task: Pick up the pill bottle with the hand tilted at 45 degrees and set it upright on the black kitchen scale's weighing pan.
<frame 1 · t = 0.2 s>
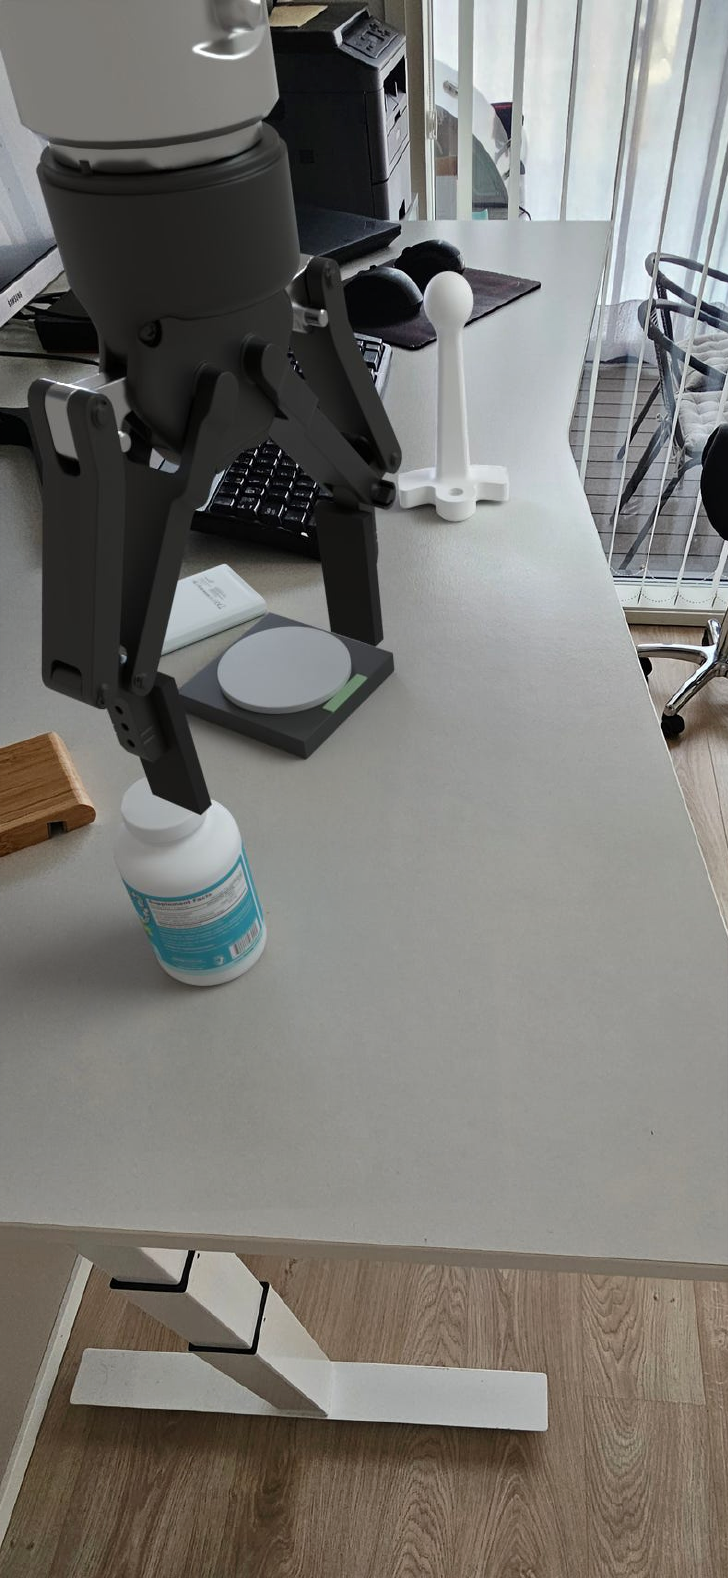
hand: (276, 712, 46), 22 cm above the table, tool pointing down, fingers open, 13 cm apart
scale: (288, 690, 83), on the table
pill bottle: (214, 948, 66), on the table
hard drive: (187, 620, 90), on the table
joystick: (454, 506, 101), on the table
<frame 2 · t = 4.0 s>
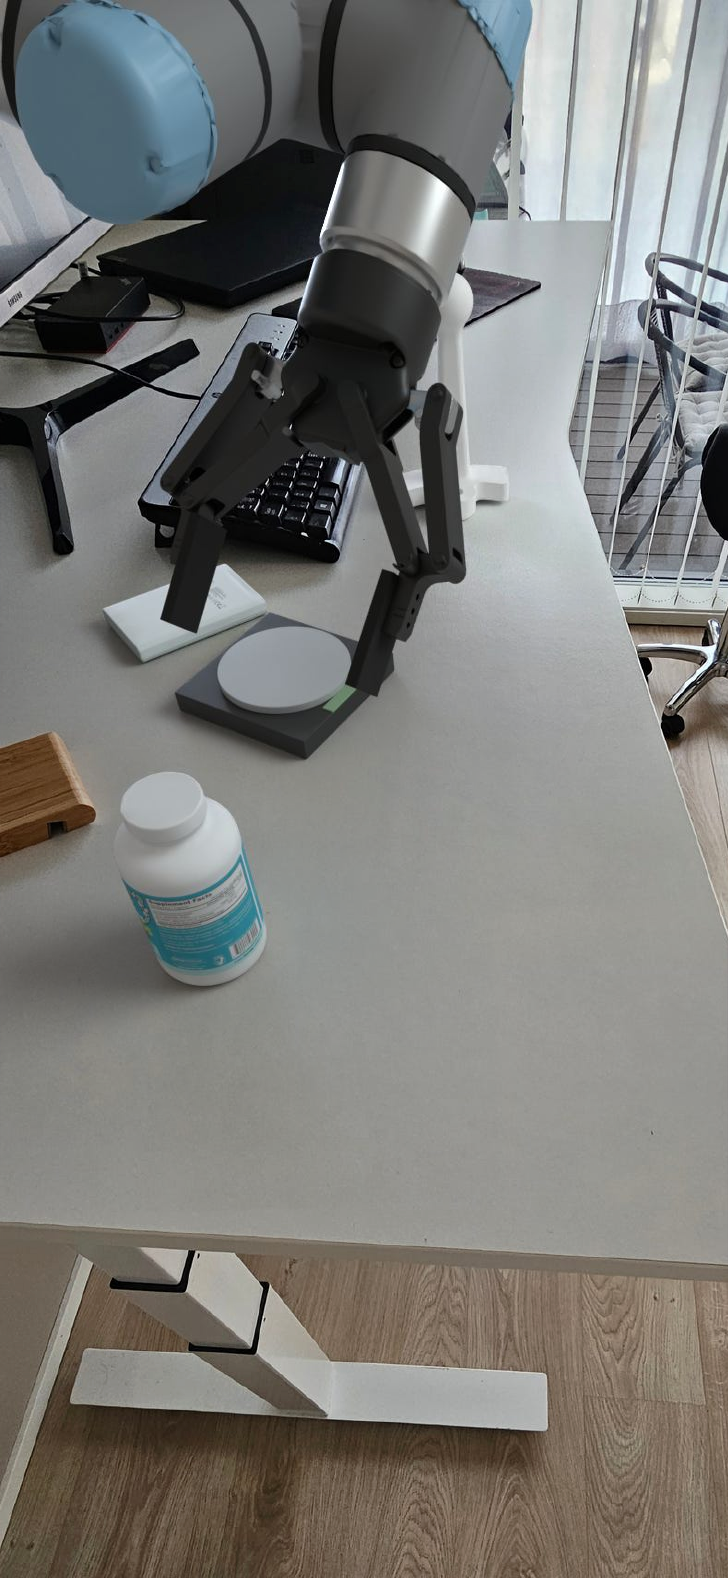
hand: (266, 658, 59), 16 cm above the table, tool tilted 45°, fingers open, 13 cm apart
nothing on the table moved.
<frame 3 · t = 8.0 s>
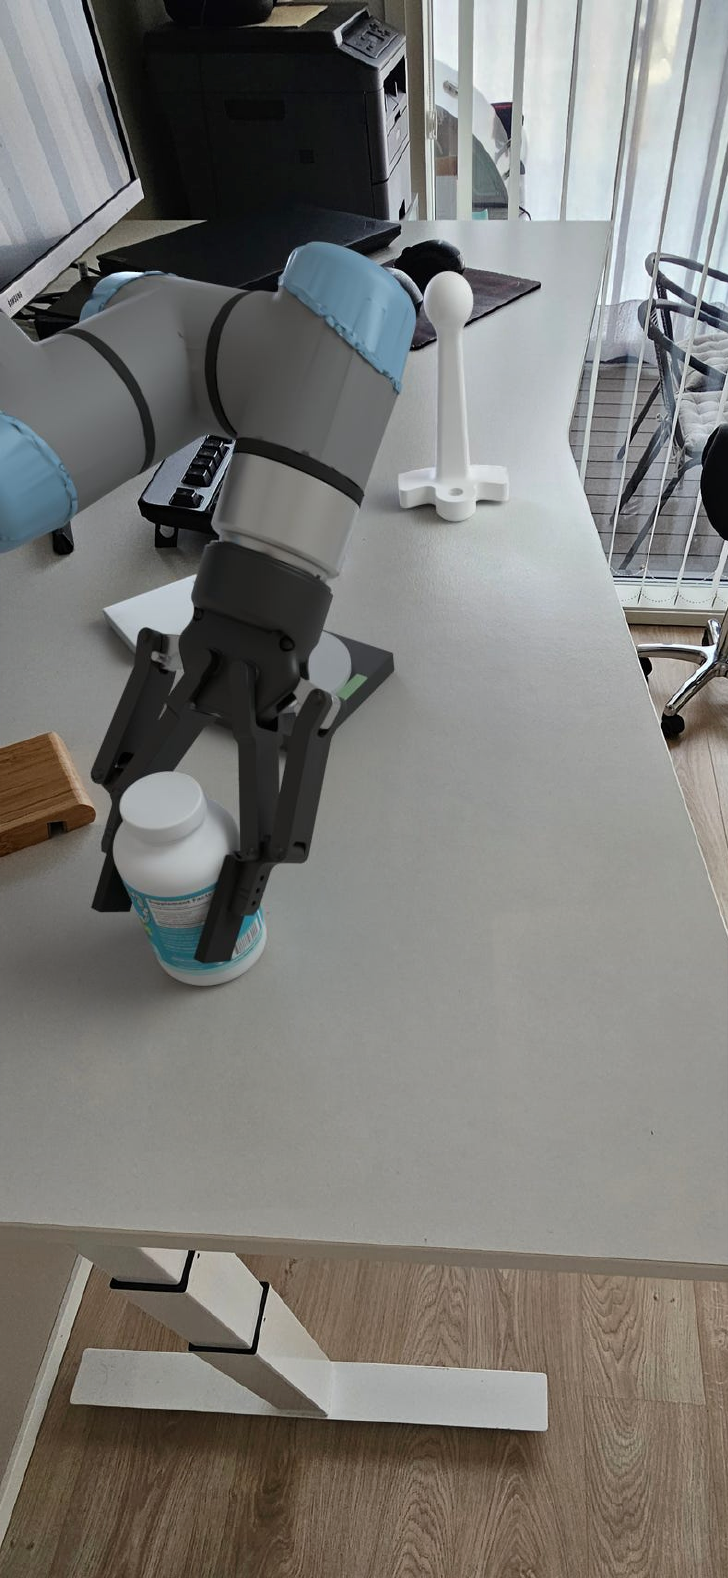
hand: (160, 934, 60), 5 cm above the table, tool tilted 45°, fingers closed on pill bottle, 7 cm apart
pill bottle: (214, 948, 66), on the table, touching gripper
everything else where it was.
when the fingers open (8 cm above the table, at t = 17.6 s): pill bottle stays where it is, resting on scale.
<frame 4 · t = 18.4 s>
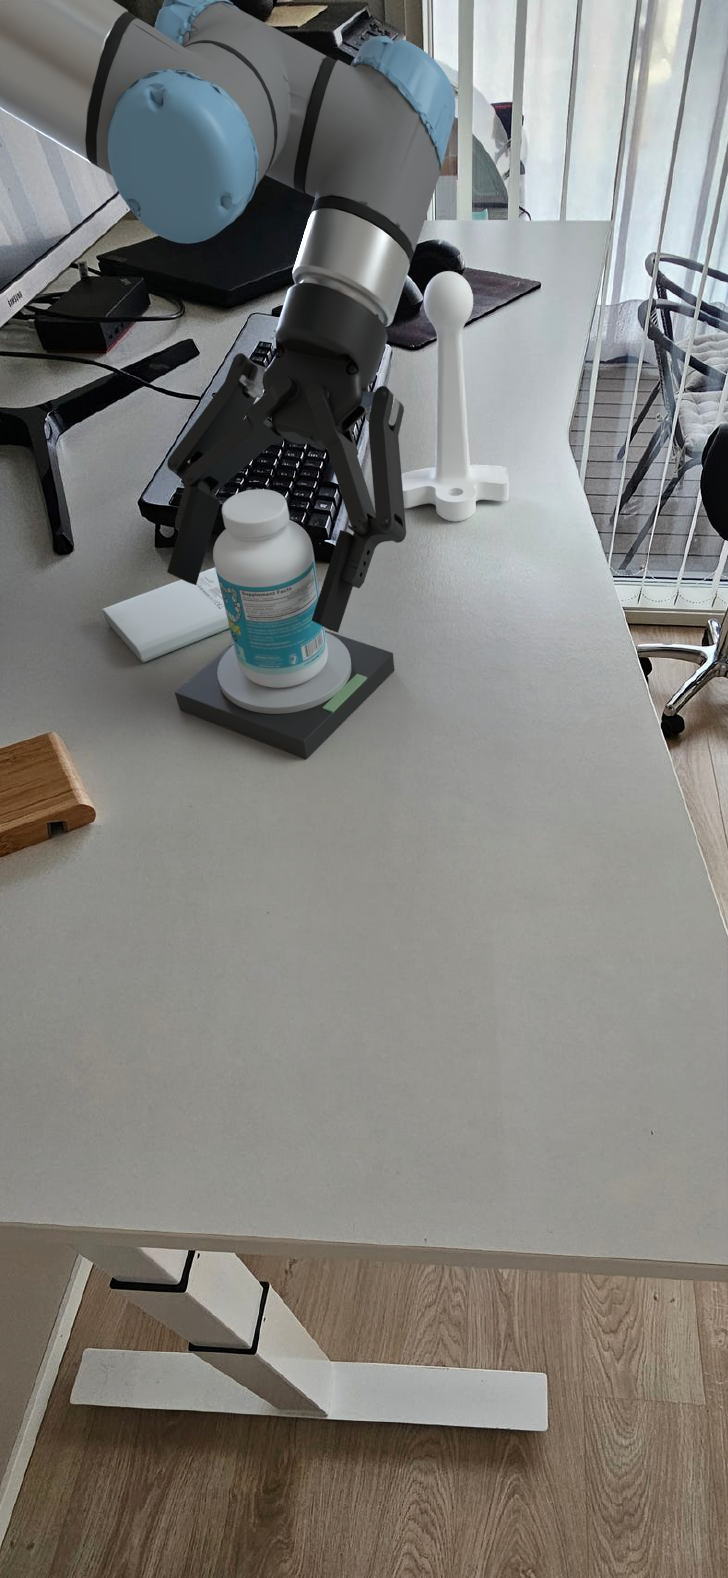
hand: (250, 602, 74), 9 cm above the table, tool tilted 45°, fingers open, 13 cm apart
pill bottle: (284, 666, 81), point 2 cm above the table, touching scale
everything else where it was.
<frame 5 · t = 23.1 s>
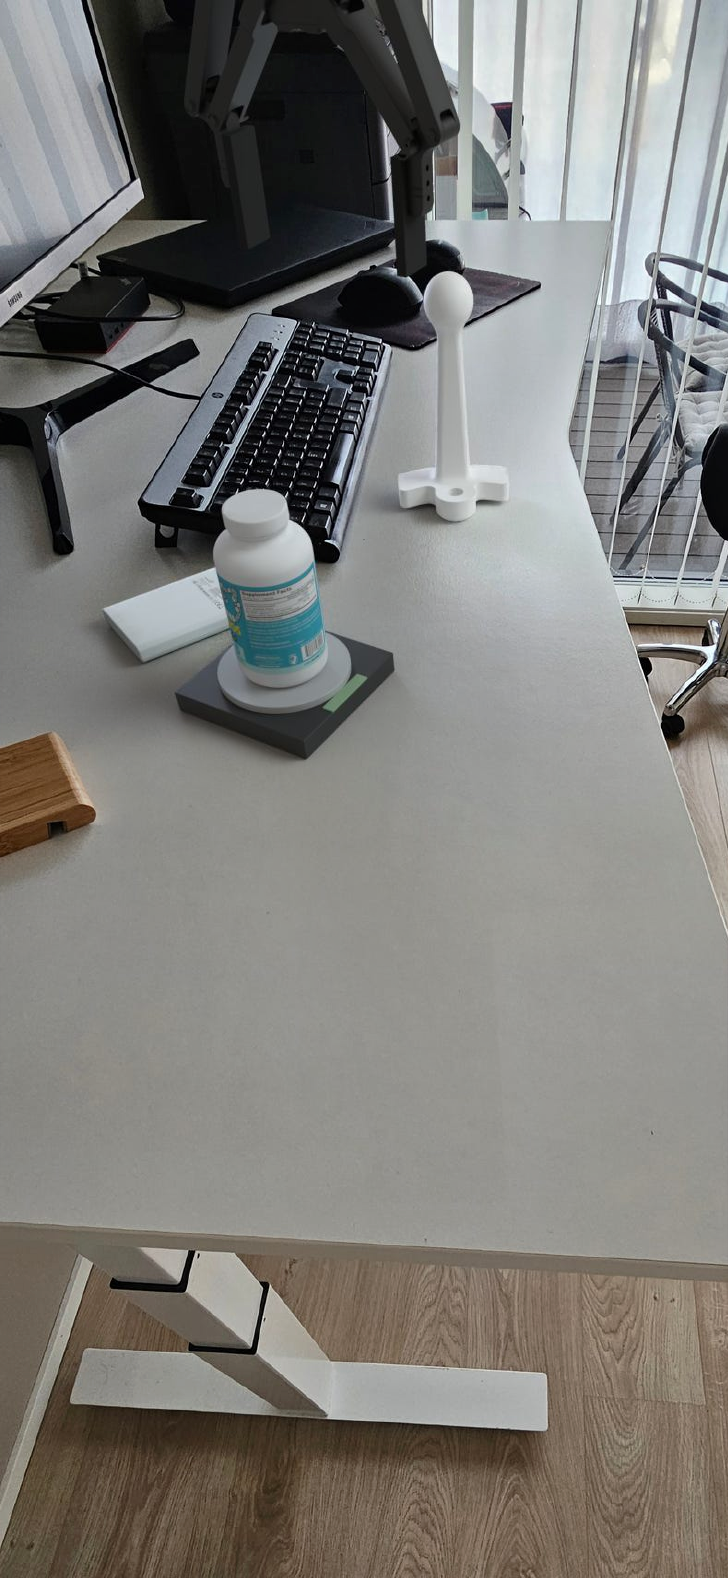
hand: (331, 257, 70), 27 cm above the table, tool pointing down, fingers open, 13 cm apart
nothing on the table moved.
at the end: pill bottle inside the target area on the scale (0.1 cm from its centre), point 2.3 cm above the scale's base; pill bottle tilted 0°; the gripper is holding nothing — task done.
